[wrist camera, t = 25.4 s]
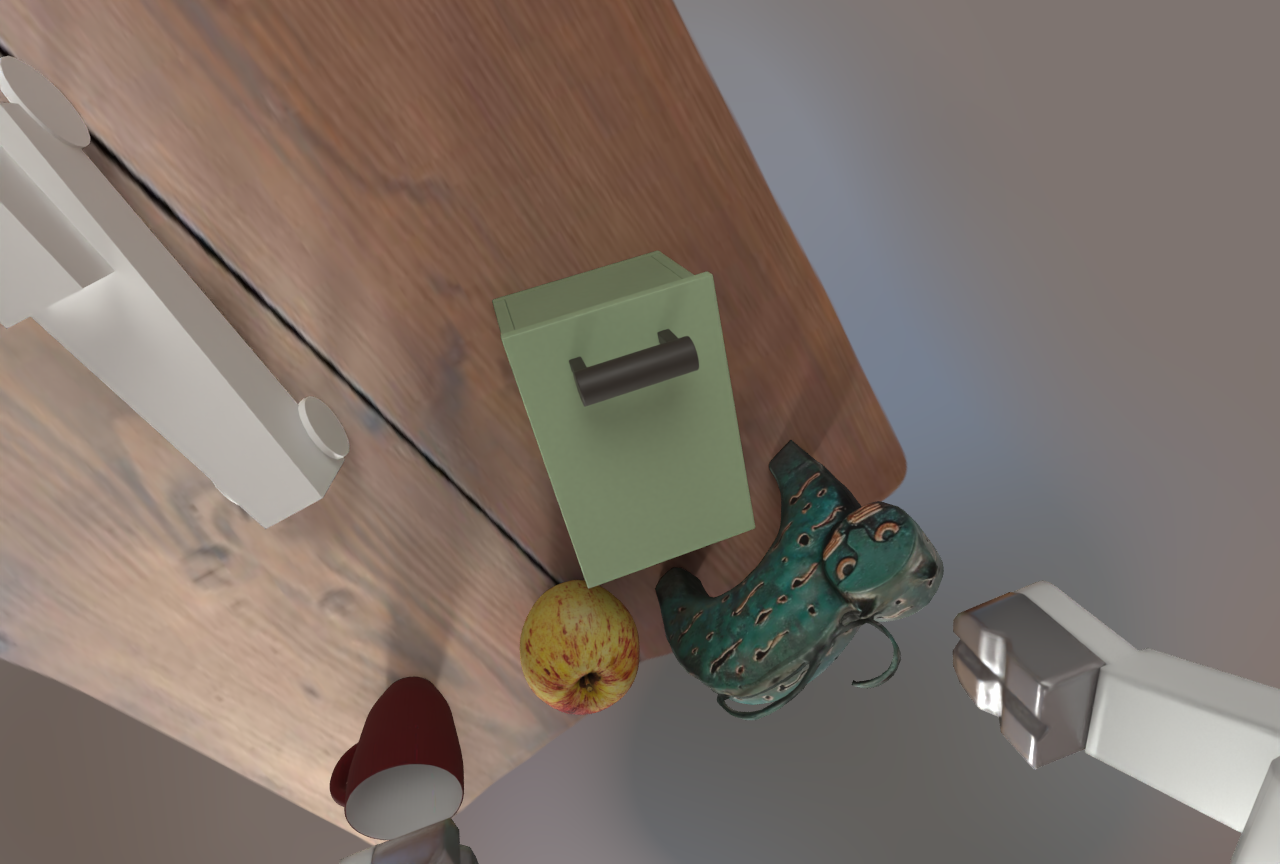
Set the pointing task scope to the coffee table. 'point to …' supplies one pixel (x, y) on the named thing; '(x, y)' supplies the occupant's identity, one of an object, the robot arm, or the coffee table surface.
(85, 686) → the coffee table surface
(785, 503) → the ceramic cat
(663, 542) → the lid
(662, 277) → the chest
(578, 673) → the apple
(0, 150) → the white elongated piece
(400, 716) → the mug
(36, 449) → the coffee table surface
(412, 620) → the coffee table surface
